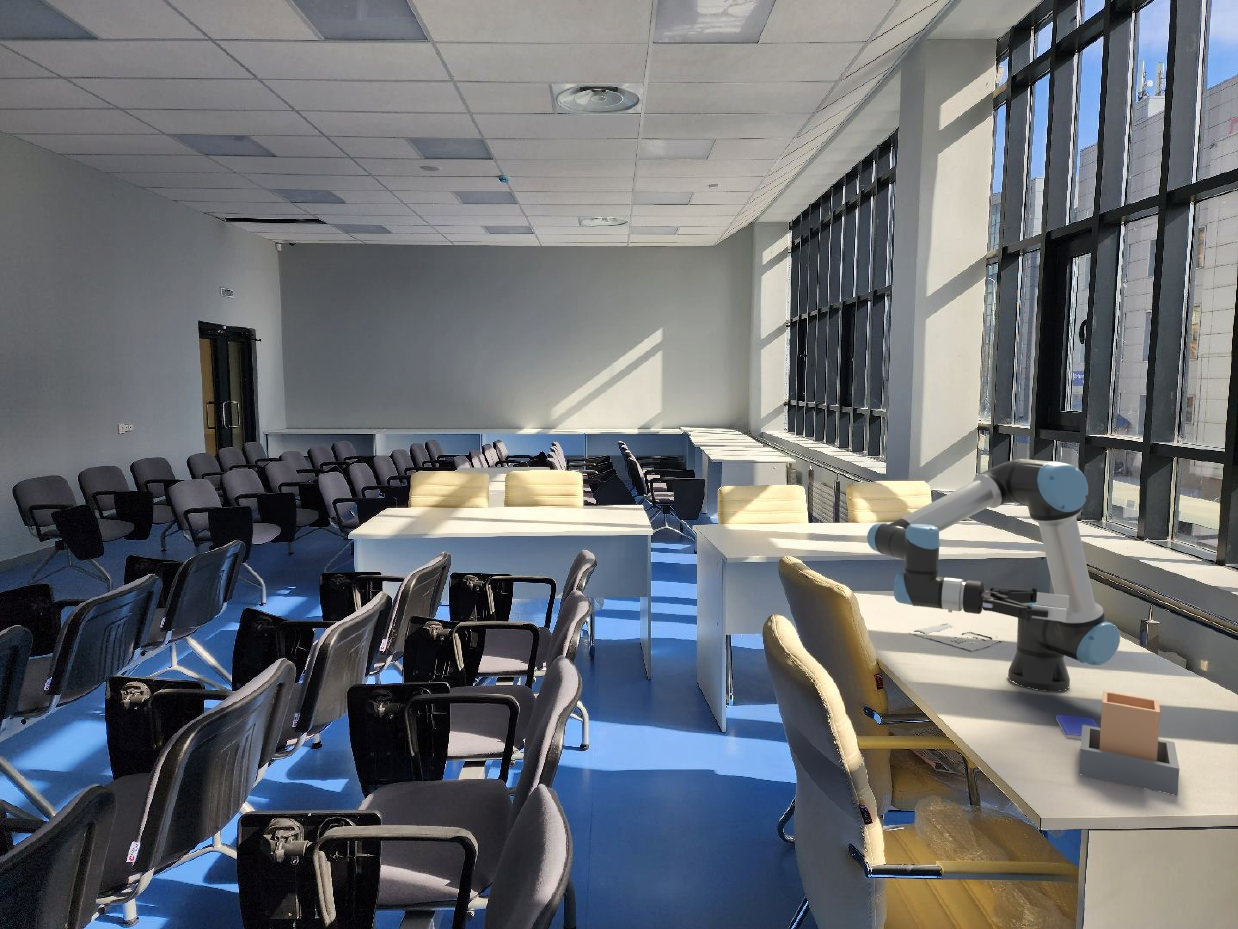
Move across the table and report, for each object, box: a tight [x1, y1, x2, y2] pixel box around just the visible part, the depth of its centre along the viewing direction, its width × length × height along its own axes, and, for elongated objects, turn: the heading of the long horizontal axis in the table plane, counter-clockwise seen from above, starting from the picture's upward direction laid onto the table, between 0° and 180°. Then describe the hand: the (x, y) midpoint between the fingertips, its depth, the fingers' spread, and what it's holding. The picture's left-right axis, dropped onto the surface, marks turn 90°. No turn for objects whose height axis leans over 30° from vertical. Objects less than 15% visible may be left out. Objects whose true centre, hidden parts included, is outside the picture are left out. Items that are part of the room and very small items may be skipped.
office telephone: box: [913, 623, 998, 644], centre depth 268 cm, size 23×3×20 cm
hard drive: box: [1055, 714, 1100, 740], centre depth 193 cm, size 2×8×12 cm
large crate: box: [1078, 725, 1180, 796], centre depth 172 cm, size 15×17×6 cm
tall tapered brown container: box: [1099, 690, 1161, 761], centre depth 171 cm, size 8×10×14 cm
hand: (1067, 608), depth 180 cm, fingers open, 13 cm apart
